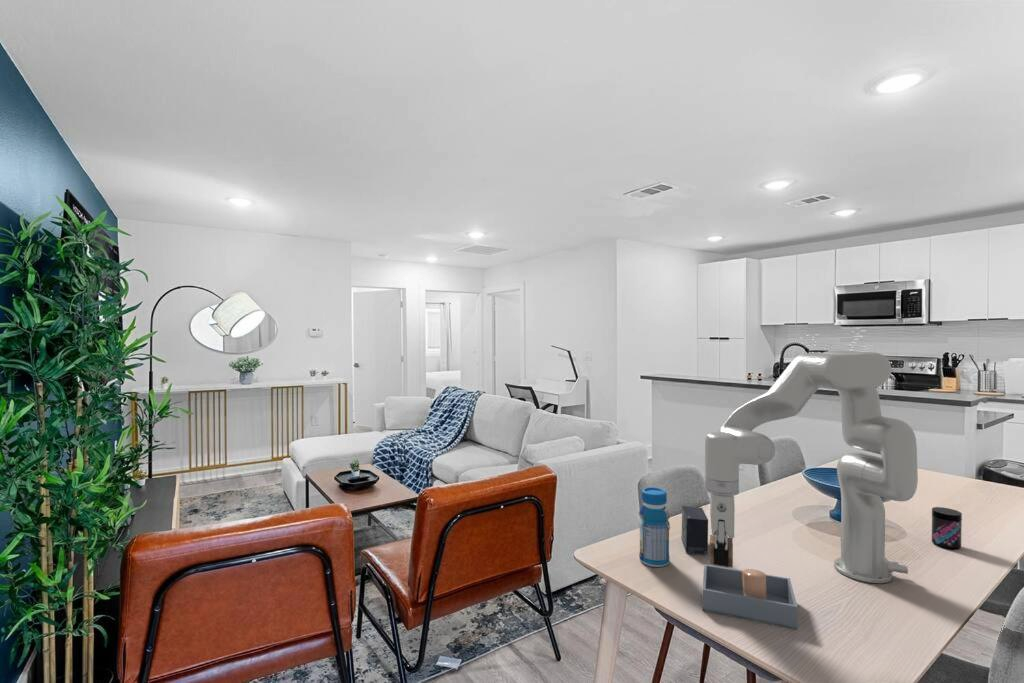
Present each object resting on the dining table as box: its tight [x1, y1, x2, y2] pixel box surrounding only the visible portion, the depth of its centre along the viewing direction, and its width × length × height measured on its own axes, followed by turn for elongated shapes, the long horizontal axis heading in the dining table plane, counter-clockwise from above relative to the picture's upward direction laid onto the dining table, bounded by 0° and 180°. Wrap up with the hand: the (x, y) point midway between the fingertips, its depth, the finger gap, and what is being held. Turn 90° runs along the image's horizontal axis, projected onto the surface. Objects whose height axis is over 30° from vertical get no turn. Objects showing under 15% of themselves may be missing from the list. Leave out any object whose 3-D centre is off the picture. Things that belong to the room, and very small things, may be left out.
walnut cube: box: [709, 534, 734, 569], centre depth 118 cm, size 5×5×5 cm
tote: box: [702, 563, 799, 631], centre depth 117 cm, size 19×13×5 cm
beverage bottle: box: [638, 486, 671, 568], centre depth 139 cm, size 8×8×20 cm
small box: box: [680, 505, 709, 556], centre depth 148 cm, size 11×6×10 cm, turn 169°
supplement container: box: [931, 506, 963, 551], centre depth 147 cm, size 7×7×10 cm
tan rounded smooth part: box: [742, 568, 767, 600], centre depth 116 cm, size 5×5×7 cm
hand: (721, 559), depth 119 cm, fingers closed on walnut cube, 5 cm apart
